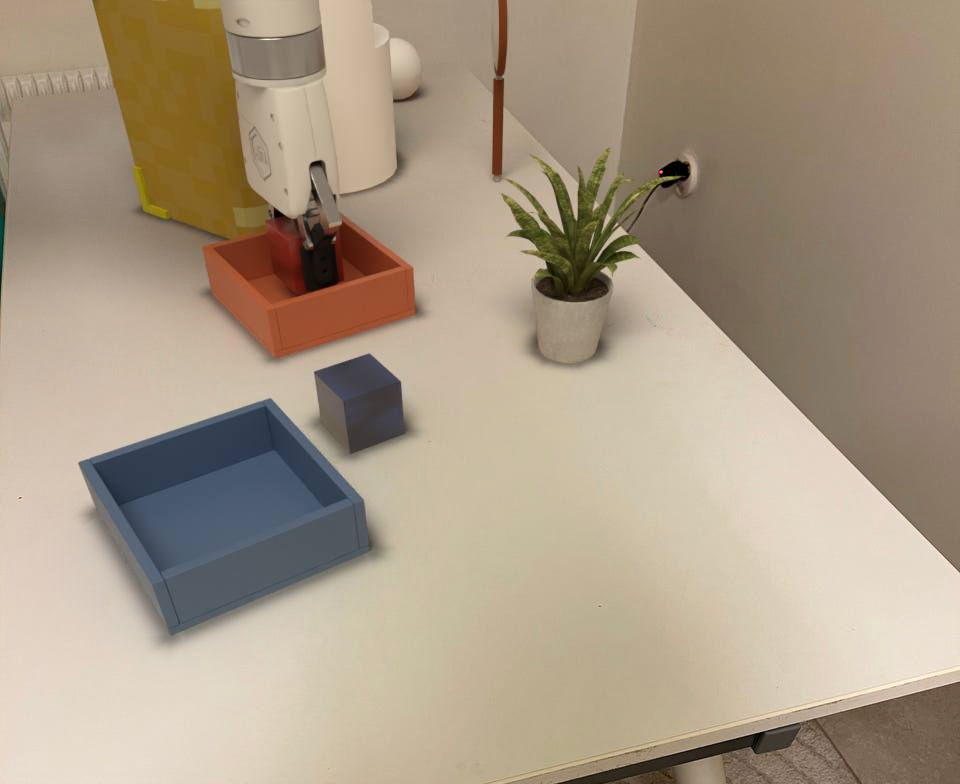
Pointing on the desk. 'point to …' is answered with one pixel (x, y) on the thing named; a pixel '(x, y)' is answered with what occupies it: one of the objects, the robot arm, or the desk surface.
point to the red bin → (310, 315)
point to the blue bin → (225, 512)
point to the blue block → (360, 402)
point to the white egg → (404, 68)
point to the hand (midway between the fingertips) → (308, 273)
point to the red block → (293, 251)
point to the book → (181, 112)
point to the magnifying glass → (498, 79)
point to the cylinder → (358, 93)
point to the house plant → (575, 261)
